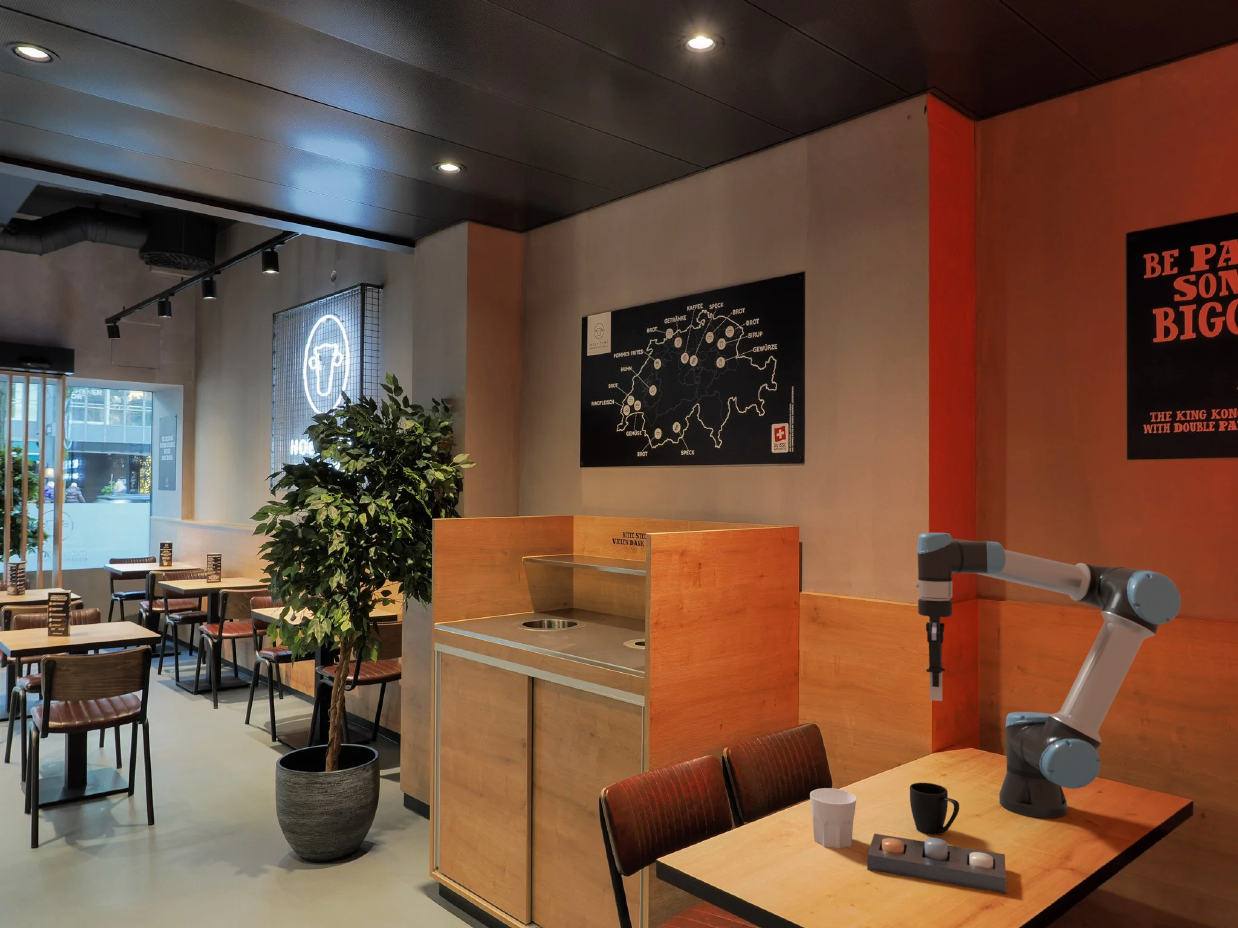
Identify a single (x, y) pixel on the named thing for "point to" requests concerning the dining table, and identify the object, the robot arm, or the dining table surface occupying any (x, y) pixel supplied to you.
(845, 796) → the cup
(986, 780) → the dining table surface
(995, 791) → the dining table surface
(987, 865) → the button cream
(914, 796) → the mug
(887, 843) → the button orange
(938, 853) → the button slate
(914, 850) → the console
